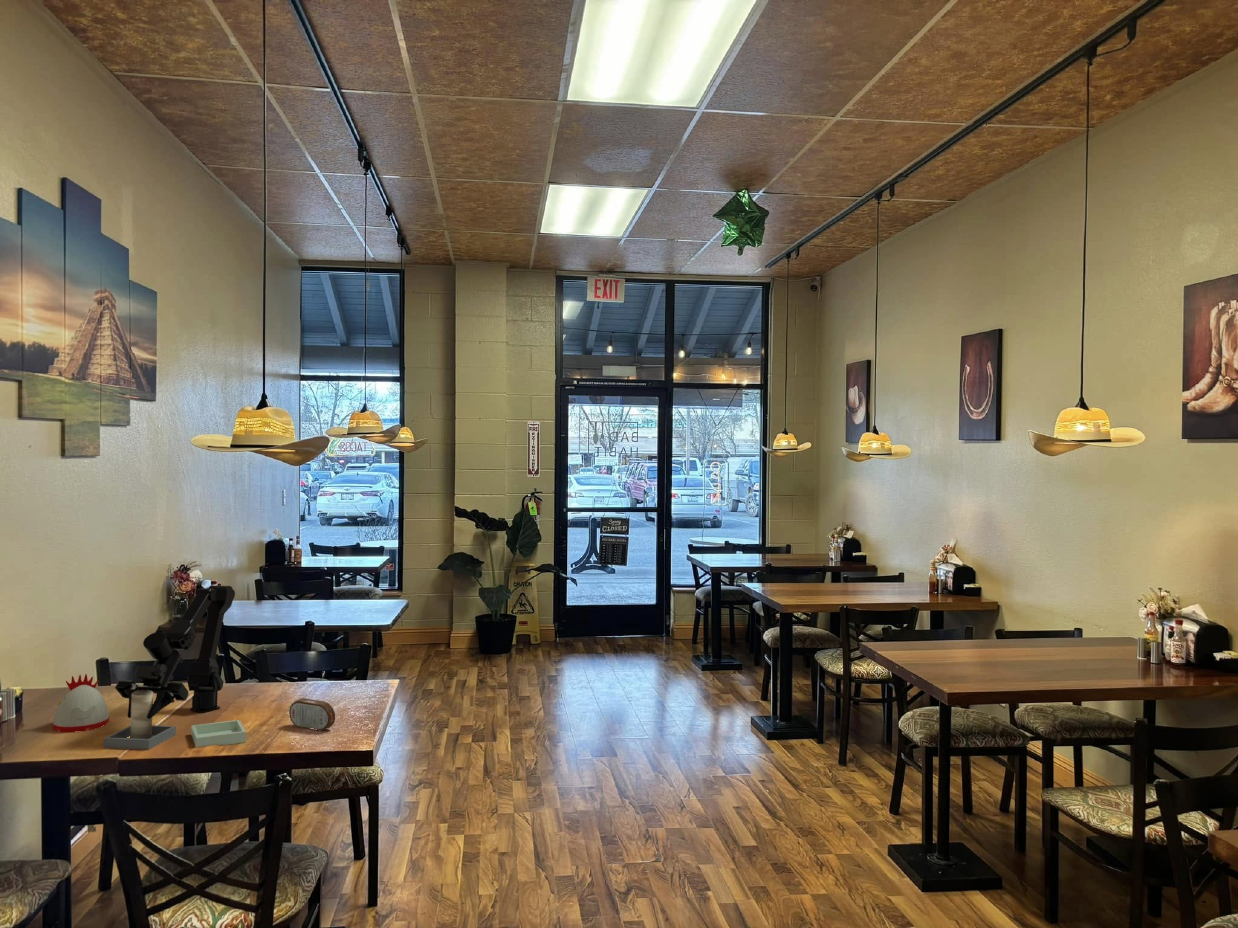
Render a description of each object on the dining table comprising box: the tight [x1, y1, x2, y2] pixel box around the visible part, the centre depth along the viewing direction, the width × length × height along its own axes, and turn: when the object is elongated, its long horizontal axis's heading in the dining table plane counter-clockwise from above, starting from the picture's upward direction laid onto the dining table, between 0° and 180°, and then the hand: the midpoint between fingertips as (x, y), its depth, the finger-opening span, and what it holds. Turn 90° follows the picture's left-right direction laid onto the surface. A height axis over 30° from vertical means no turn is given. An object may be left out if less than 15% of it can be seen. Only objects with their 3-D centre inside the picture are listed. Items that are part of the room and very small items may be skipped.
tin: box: [288, 697, 336, 731], centre depth 249 cm, size 15×3×8 cm, turn 71°
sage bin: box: [190, 719, 247, 748], centre depth 236 cm, size 13×13×3 cm
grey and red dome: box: [52, 673, 110, 733], centre depth 245 cm, size 14×14×15 cm
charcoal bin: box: [103, 724, 177, 751], centre depth 231 cm, size 13×13×3 cm
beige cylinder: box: [130, 690, 154, 739], centre depth 231 cm, size 5×5×13 cm
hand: (138, 717), depth 230 cm, fingers closed on beige cylinder, 5 cm apart
